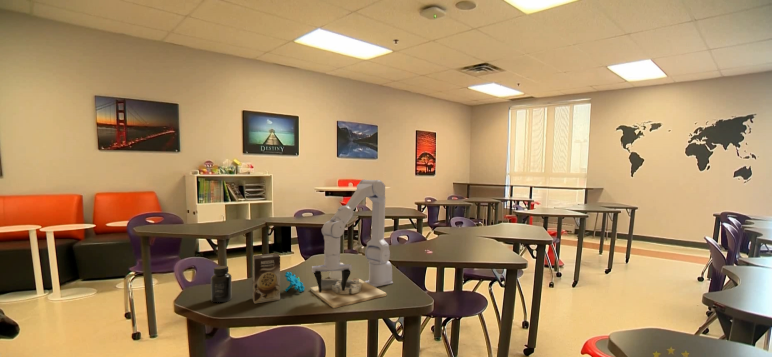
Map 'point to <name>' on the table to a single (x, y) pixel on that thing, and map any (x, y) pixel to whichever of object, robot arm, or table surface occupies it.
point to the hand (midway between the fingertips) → (331, 290)
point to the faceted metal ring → (337, 286)
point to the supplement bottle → (221, 285)
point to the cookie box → (266, 278)
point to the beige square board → (346, 299)
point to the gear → (294, 282)
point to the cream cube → (335, 274)
